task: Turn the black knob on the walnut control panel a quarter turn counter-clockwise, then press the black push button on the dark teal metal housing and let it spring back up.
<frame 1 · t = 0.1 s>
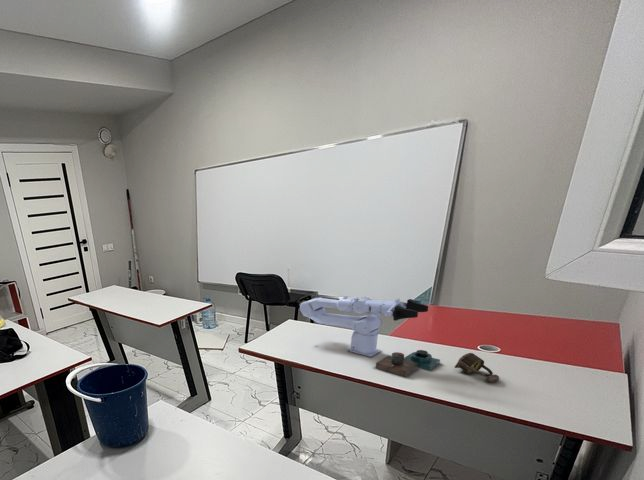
hand: (422, 311, 130), 22 cm above the table, tool horizontal, fingers open, 7 cm apart
dial panel: (396, 368, 137), on the table
mechanical counter: (474, 376, 126), on the table
dial knob: (397, 358, 135), point 4 cm above the table, hinge at 0.0°
start button: (421, 353, 137), point 4 cm above the table, slide at 0.1 cm
button box: (420, 363, 139), on the table
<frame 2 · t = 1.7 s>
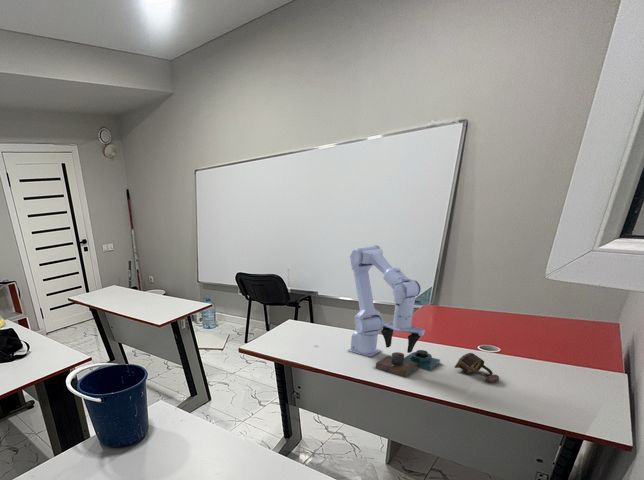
hand: (398, 349, 134), 8 cm above the table, tool pointing down, fingers open, 7 cm apart
nothing on the table moved.
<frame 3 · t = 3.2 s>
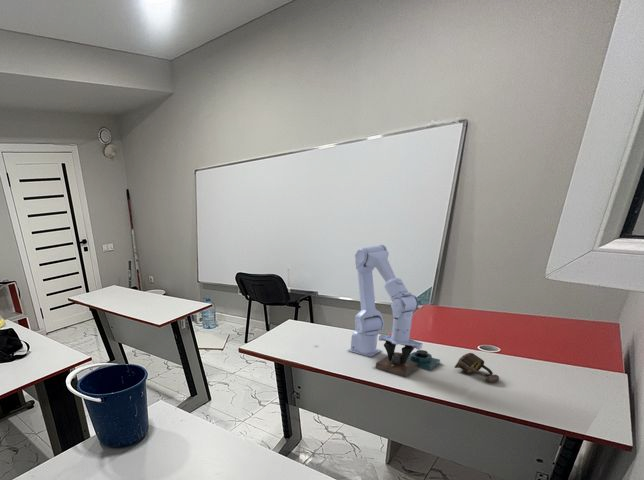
hand: (397, 361, 136), 3 cm above the table, tool pointing down, fingers closed on dial knob, 4 cm apart
dial knob: (397, 358, 135), point 4 cm above the table, hinge at -0.1°, touching gripper
everything else where it was.
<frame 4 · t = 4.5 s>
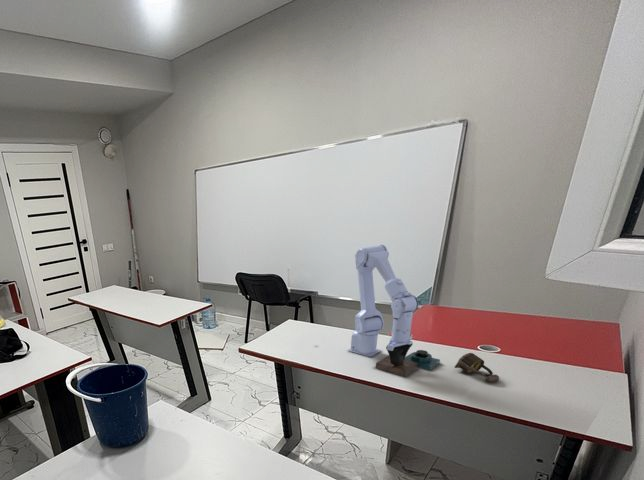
hand: (397, 362, 136), 3 cm above the table, tool pointing down, fingers closed on dial knob, 4 cm apart
dial knob: (397, 358, 135), point 4 cm above the table, hinge at 90.4°, touching gripper
everything else where it was.
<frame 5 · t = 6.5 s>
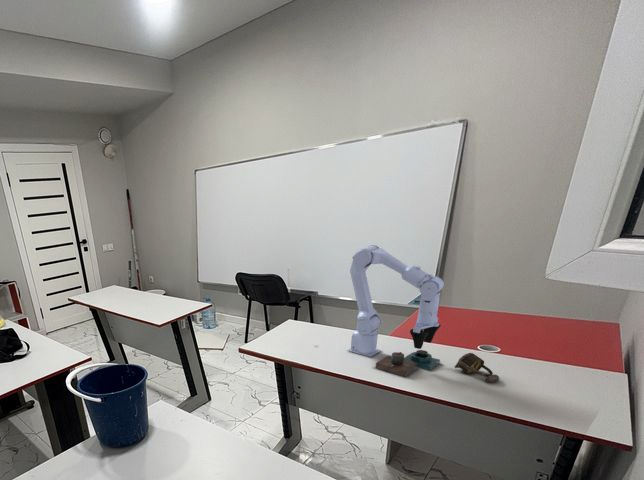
hand: (422, 345, 136), 8 cm above the table, tool pointing down, fingers open, 7 cm apart
dial knob: (397, 358, 135), point 4 cm above the table, hinge at 90.9°
everything else where it was.
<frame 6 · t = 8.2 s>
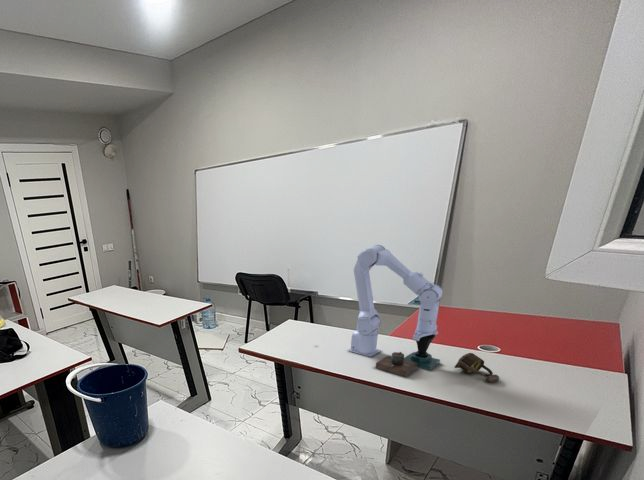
hand: (422, 352, 137), 5 cm above the table, tool pointing down, fingers closed, pressing on start button
start button: (421, 354, 137), point 4 cm above the table, slide at -0.1 cm, touching gripper
everything else where it was.
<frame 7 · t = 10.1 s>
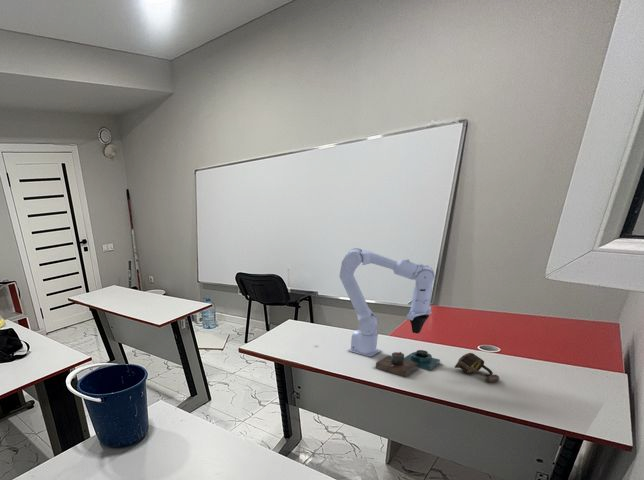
hand: (416, 332, 140), 10 cm above the table, tool pointing down, fingers closed
start button: (421, 353, 137), point 4 cm above the table, slide at 0.1 cm
everything else where it was.
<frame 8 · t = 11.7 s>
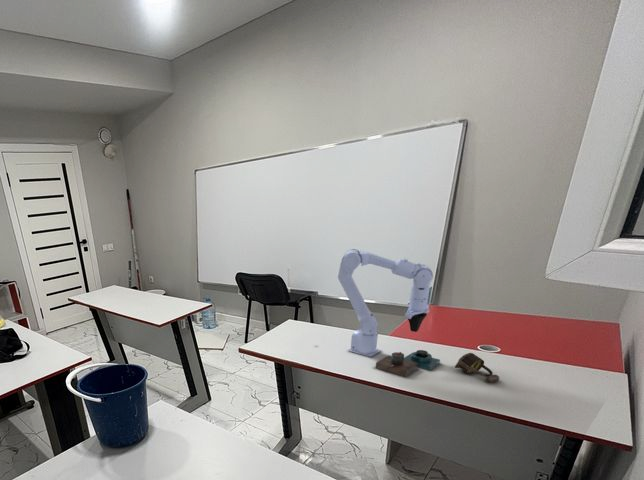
hand: (414, 331, 142), 10 cm above the table, tool pointing down, fingers closed
nothing on the table moved.
at the end: dial knob at +91° (first picture: +0°); start button pushed in 1.2 cm at the most during the clip, back to where it started at the end; start button slide at 0.1 cm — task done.
